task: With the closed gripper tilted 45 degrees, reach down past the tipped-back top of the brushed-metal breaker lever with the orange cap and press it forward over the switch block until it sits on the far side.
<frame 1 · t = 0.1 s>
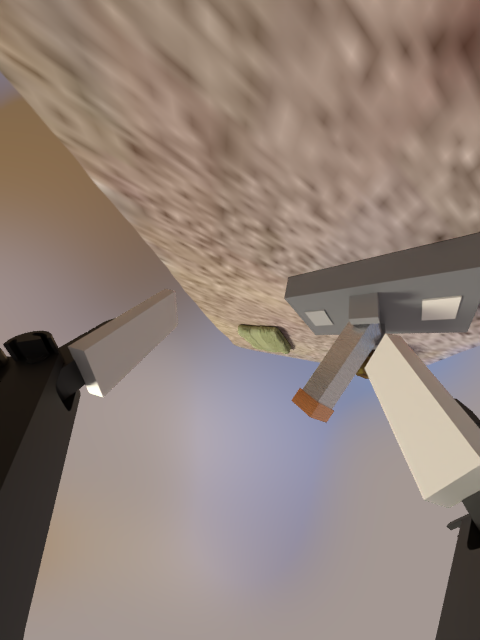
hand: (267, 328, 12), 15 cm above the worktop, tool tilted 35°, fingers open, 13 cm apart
switch block: (368, 291, 29), on the worktop
washcloth: (266, 335, 59), on the worktop
potato: (365, 348, 48), on the worktop
breaker lever: (342, 363, 27), point 12 cm above the worktop, hinge at -28.0°
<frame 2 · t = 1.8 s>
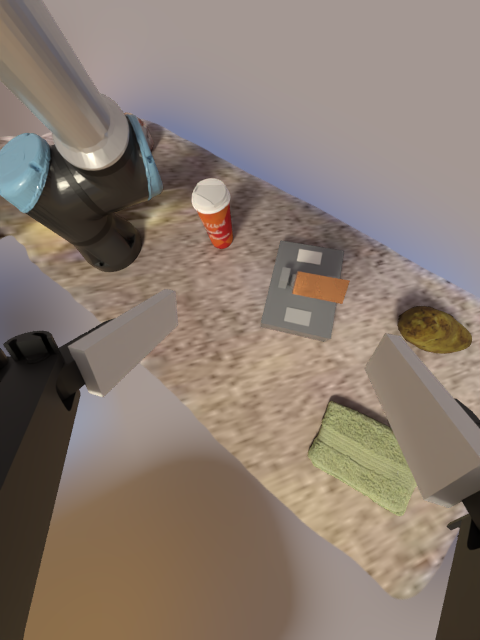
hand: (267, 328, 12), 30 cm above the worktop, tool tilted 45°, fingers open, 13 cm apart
switch block: (299, 292, 44), on the worktop
food item: (137, 160, 60), on the worktop
washcloth: (360, 449, 36), on the worktop
paper cup: (222, 240, 50), on the worktop
potato: (416, 335, 40), on the worktop
breaker lever: (310, 284, 32), point 12 cm above the worktop, hinge at -28.0°
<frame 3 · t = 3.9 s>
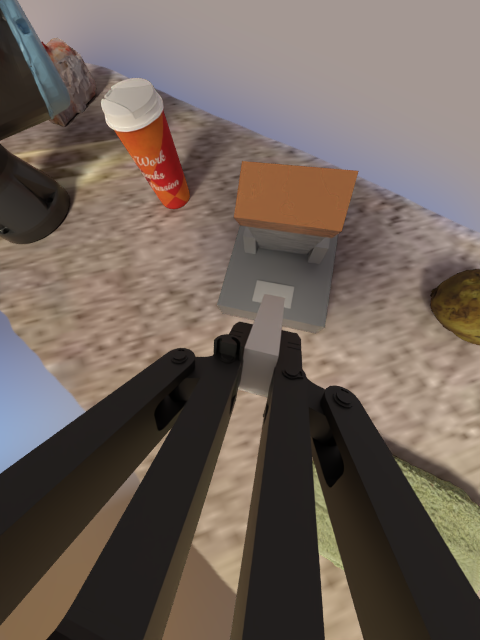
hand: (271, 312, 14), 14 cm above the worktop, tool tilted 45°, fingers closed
switch block: (280, 264, 31), on the worktop
food item: (77, 108, 47), on the worktop
washcloth: (376, 507, 22), on the worktop
paper cup: (176, 198, 37), on the worktop
potato: (457, 322, 26), on the worktop
breaker lever: (286, 229, 19), point 12 cm above the worktop, hinge at -28.0°
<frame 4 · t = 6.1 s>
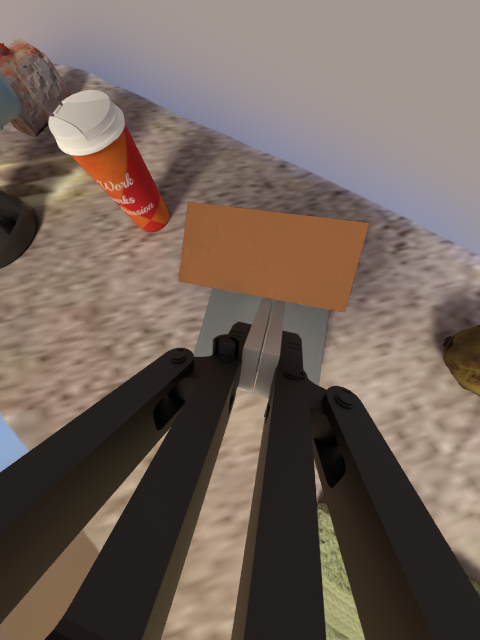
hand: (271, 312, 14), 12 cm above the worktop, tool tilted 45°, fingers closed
switch block: (269, 299, 27), on the worktop
food item: (49, 116, 43), on the worktop
washcloth: (379, 602, 19), on the worktop
paper cup: (154, 219, 33), on the worktop
potato: (473, 372, 22), on the worktop
breaker lever: (269, 276, 15), point 12 cm above the worktop, hinge at -22.3°, touching gripper
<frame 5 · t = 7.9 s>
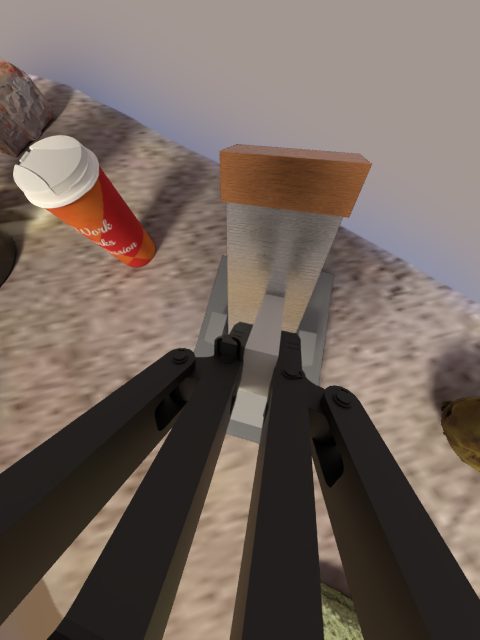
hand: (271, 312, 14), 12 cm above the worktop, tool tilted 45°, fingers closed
switch block: (258, 345, 25), on the worktop
food item: (31, 135, 41), on the worktop
paper cup: (140, 253, 31), on the worktop
potato: (472, 433, 21), on the worktop
breaker lever: (268, 288, 15), point 12 cm above the worktop, hinge at 28.9°, touching gripper
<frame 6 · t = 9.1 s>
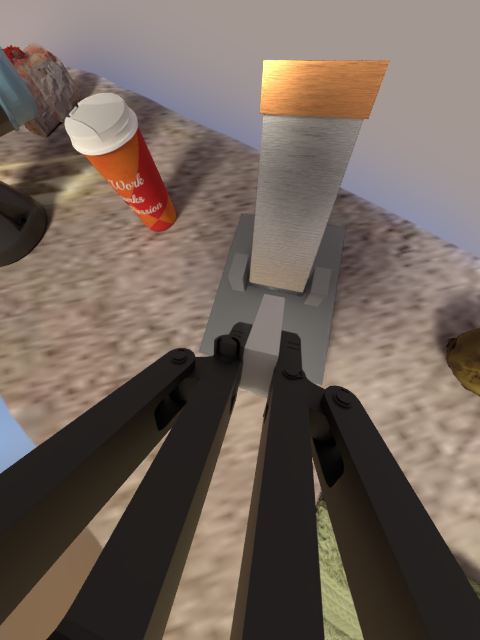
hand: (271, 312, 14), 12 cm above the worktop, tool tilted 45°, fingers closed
switch block: (273, 298, 27), on the worktop
food item: (60, 118, 44), on the worktop
washcloth: (380, 602, 19), on the worktop
paper cup: (162, 219, 33), on the worktop
potato: (476, 374, 23), on the worktop
breaker lever: (290, 216, 17), point 12 cm above the worktop, hinge at 28.9°
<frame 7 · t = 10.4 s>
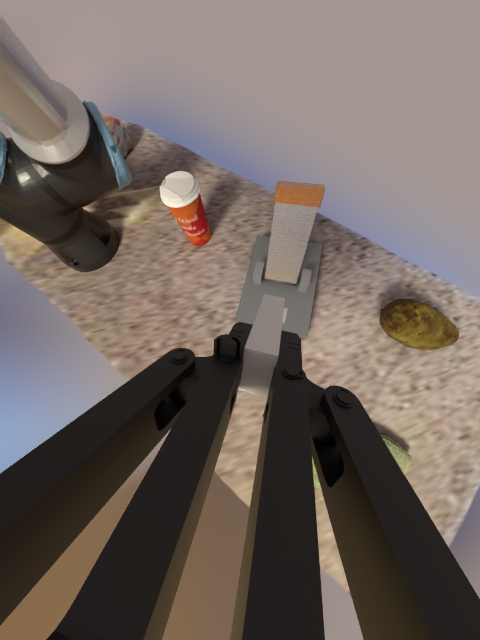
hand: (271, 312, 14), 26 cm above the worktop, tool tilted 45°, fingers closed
switch block: (278, 289, 42), on the worktop
food item: (116, 160, 60), on the worktop
washcloth: (341, 453, 34), on the worktop
paper cup: (200, 237, 49), on the worktop
potato: (401, 331, 38), on the worktop
breaker lever: (288, 242, 32), point 12 cm above the worktop, hinge at 28.9°
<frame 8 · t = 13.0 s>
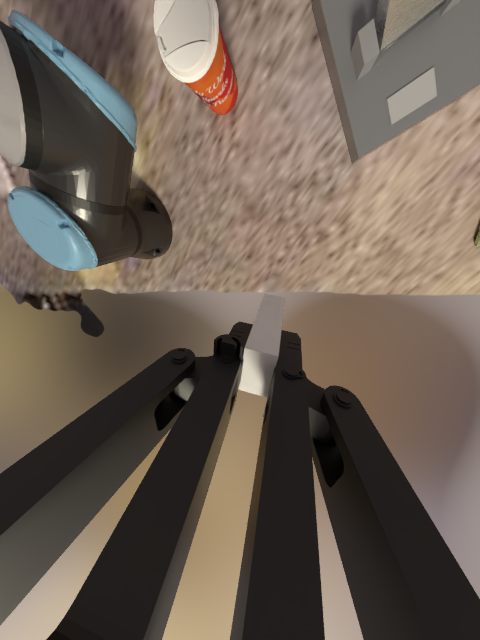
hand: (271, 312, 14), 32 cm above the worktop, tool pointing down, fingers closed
switch block: (387, 52, 27), on the worktop
paper cup: (223, 92, 33), on the worktop
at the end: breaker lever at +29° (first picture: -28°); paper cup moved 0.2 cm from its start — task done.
